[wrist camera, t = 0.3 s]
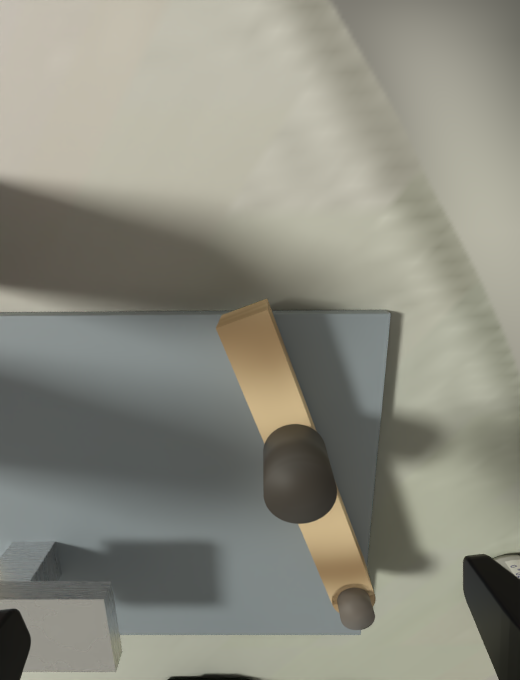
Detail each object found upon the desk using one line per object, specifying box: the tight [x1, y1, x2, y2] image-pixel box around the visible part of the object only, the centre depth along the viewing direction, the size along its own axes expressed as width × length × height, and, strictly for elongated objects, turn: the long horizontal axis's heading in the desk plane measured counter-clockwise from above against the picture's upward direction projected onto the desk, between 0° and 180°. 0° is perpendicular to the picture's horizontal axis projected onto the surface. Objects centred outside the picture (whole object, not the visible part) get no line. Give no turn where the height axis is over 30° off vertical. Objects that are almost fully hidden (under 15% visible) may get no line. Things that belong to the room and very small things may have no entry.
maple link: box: [216, 299, 375, 630], centre depth 19 cm, size 18×3×5 cm, turn 20°
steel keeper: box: [0, 542, 122, 672], centre depth 22 cm, size 5×8×5 cm, turn 90°
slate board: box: [0, 310, 391, 635], centre depth 23 cm, size 22×23×1 cm
